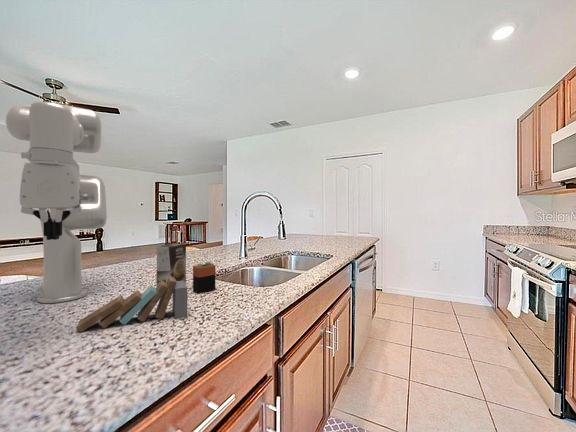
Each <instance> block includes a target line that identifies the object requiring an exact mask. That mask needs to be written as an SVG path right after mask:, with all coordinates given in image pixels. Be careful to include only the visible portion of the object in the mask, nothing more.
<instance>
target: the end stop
mask: <svg viewBox="0 0 576 432" xmlns="http://www.w3.org/2000/svg"><path fill="white" fill-rule="evenodd" d="M176 282H177V283H176V285H175V288H174V291H173V293H172V296H171V298H172V299H171V301H172V305H171V306H172V312H173V315H174V319H175V320H177V319H182V318H187V317H188V286H187V283H186V284H185V282H184V281H176Z"/></svg>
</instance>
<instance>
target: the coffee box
mask: <svg viewBox="0 0 576 432" xmlns="http://www.w3.org/2000/svg"><path fill="white" fill-rule="evenodd" d="M169 277H172V278H175V279H176V281H184V282H185V284H186V285H187V243H169V244H162V245H157V246H156V287H157V286H158V285H159V283H160V282H161V280H162V281H164V282H166V283H167V281H168V278H169Z"/></svg>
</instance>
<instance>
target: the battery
mask: <svg viewBox="0 0 576 432" xmlns="http://www.w3.org/2000/svg"><path fill="white" fill-rule="evenodd" d="M215 290H216V265H215V264H212V261H206V262H204V264H202V263H197V265H193V266H192V291H193V292H194V293H197V294H204V293H208V292H212V291H215Z"/></svg>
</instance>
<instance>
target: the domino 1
mask: <svg viewBox="0 0 576 432" xmlns="http://www.w3.org/2000/svg"><path fill="white" fill-rule="evenodd" d="M124 300H125V298H124V297H123V295H122V294H121V295H118V296H117V297H115V298H114V299H112V300H110V301H108V302H107V303H105V304H104V305H103V306H100V307H99V308H98V309H95V310H94V311H92V312H91V313H89V314H88V315H86V316H84V317H83V318H81V319H79V321H78V323H77V325H76V327H75V328H76V329H77V331H78V332H79V333H82V332H84V331H86V330H87V329H89V328H91V327H92V326H93V325H96V324H97V323H98V322H100V320H101V319H103V318H105V317H106V316H108V315H109V314H111V313H113V312H114V311H116V310H117V309H119V308H121V307H122V306H123V305H124Z"/></svg>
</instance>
